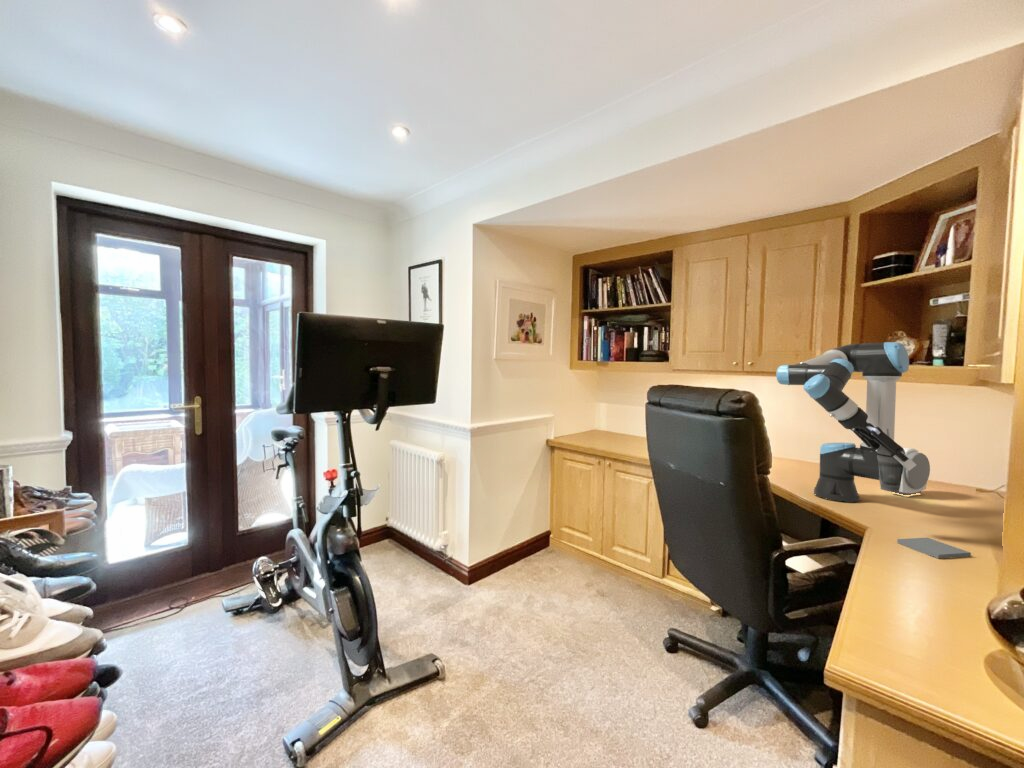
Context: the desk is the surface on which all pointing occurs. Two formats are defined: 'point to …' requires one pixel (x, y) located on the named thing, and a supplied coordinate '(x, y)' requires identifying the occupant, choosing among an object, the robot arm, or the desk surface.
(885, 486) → the beverage cup
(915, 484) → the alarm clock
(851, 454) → the robot arm
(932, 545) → the charcoal rubber mat
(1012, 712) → the desk surface
